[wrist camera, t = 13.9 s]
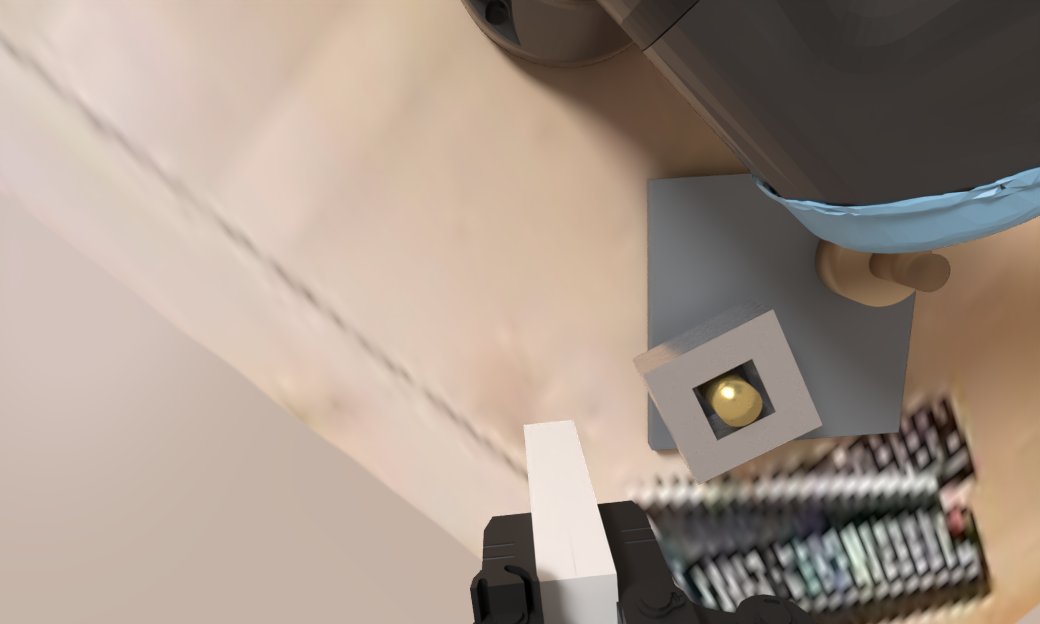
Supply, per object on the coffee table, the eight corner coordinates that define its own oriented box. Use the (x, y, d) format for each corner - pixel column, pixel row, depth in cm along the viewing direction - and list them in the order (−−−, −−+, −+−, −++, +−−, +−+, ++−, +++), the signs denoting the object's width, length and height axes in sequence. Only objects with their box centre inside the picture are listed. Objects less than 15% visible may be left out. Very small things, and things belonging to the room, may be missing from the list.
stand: (818, 214, 39) (886, 224, 32) (904, 208, 39) (990, 218, 32) (812, 299, 40) (875, 326, 34) (895, 293, 40) (974, 319, 34)
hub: (659, 329, 40) (685, 357, 35) (755, 323, 41) (798, 349, 35) (658, 419, 42) (684, 459, 36) (751, 412, 42) (791, 452, 37)
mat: (647, 179, 39) (652, 179, 38) (918, 162, 39) (931, 162, 38) (648, 442, 44) (652, 450, 43) (887, 425, 44) (898, 432, 43)
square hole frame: (631, 359, 39) (642, 374, 36) (752, 298, 38) (773, 309, 35) (684, 461, 41) (698, 484, 38) (799, 406, 40) (822, 425, 37)
